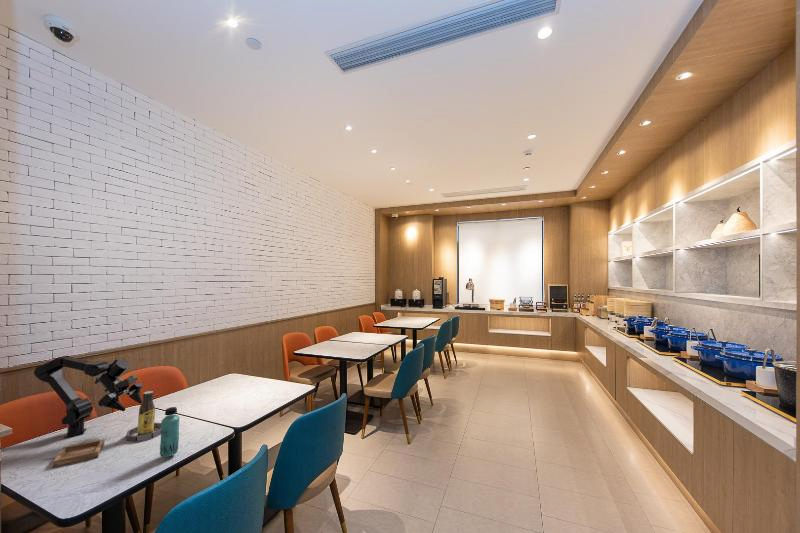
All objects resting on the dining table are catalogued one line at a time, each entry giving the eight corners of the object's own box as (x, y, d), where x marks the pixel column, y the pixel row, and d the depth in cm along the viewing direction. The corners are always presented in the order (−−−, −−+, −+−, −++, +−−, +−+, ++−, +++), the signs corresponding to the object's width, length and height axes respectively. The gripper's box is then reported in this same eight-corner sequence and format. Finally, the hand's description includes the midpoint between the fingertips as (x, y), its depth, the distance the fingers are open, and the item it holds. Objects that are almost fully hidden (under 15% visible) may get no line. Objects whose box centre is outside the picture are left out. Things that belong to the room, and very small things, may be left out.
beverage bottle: (165, 452, 136) (167, 405, 137) (182, 452, 136) (183, 404, 137) (155, 461, 129) (157, 411, 130) (172, 460, 130) (174, 411, 131)
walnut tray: (63, 453, 135) (63, 447, 135) (104, 444, 142) (104, 438, 142) (52, 468, 124) (53, 461, 124) (97, 457, 132) (98, 451, 132)
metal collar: (128, 432, 153) (128, 427, 154) (164, 425, 161) (164, 420, 162) (124, 445, 142) (124, 439, 142) (163, 436, 150) (163, 431, 150)
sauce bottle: (144, 438, 148) (146, 395, 149) (133, 437, 149) (135, 394, 150) (157, 432, 154) (159, 390, 155) (147, 430, 155) (148, 389, 156)
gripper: (105, 377, 144) (128, 402, 143) (140, 366, 163) (160, 388, 162) (87, 394, 144) (110, 419, 143) (124, 381, 163) (144, 403, 162)
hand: (133, 406), depth 152 cm, fingers open, 9 cm apart
